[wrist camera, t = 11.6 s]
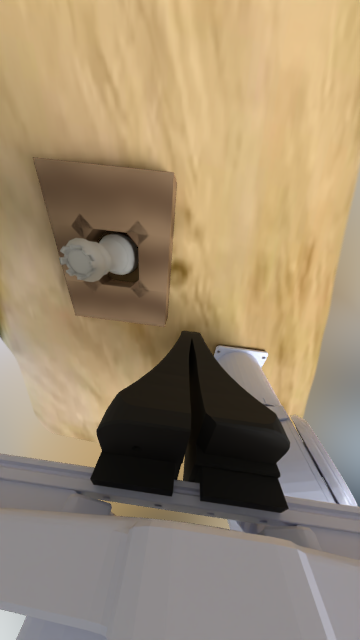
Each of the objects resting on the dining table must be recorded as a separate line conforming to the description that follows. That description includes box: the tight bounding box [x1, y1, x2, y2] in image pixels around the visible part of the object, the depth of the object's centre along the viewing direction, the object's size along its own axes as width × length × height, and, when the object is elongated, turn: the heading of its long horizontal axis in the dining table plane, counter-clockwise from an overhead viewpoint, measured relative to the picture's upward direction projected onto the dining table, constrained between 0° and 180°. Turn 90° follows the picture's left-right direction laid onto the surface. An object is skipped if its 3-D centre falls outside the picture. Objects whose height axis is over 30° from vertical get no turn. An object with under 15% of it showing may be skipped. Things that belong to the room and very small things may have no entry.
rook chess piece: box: [59, 233, 139, 282], centre depth 14 cm, size 4×4×8 cm
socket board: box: [33, 157, 177, 327], centre depth 17 cm, size 15×12×2 cm
